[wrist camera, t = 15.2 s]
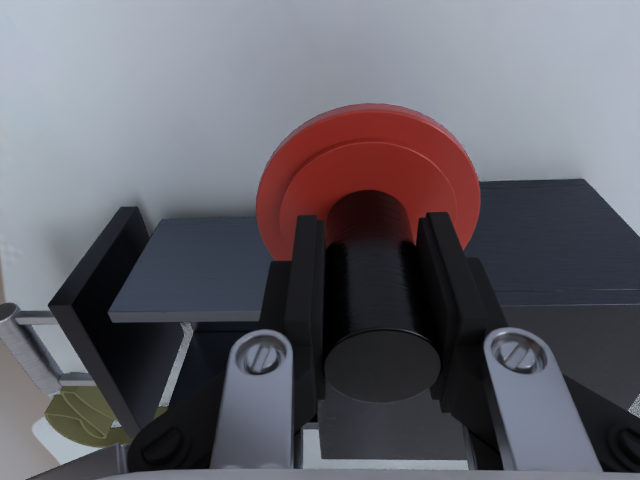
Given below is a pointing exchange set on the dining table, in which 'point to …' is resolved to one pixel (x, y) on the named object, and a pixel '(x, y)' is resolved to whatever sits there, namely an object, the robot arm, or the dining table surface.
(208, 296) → the drawer
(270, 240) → the lid
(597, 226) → the dark grey metal box
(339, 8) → the dining table surface
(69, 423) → the cookie cutter
